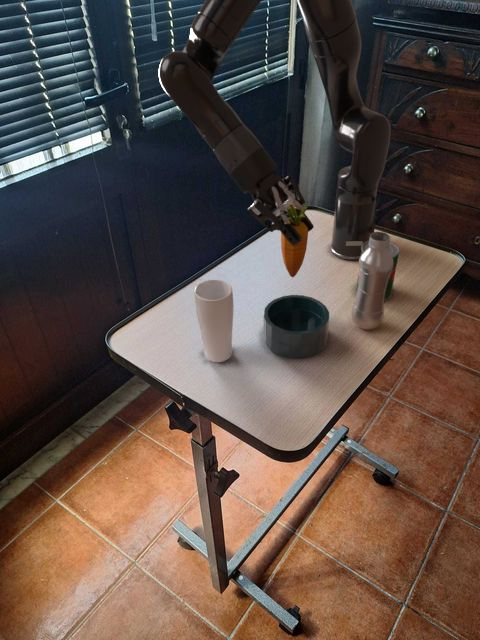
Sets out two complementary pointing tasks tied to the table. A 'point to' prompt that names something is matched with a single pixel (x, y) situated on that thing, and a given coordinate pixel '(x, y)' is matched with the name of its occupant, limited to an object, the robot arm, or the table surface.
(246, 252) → the table surface
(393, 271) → the canned tomato
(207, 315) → the drinking glass
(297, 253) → the carrot
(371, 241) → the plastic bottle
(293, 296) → the pot
